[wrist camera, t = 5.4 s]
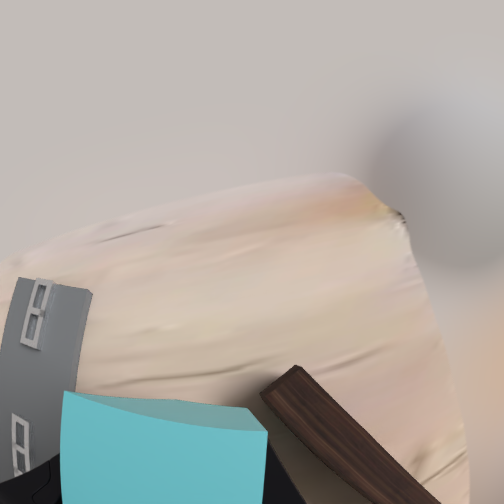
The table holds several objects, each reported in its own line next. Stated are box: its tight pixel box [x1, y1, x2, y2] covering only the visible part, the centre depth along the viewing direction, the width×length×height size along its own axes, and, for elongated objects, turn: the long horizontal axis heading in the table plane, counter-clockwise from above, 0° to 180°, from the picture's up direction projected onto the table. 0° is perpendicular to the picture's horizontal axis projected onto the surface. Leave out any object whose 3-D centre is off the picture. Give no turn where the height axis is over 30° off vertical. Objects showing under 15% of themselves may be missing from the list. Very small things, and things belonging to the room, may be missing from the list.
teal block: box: [60, 391, 268, 504], centre depth 8 cm, size 4×4×11 cm
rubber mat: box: [0, 277, 93, 483], centre depth 15 cm, size 24×10×1 cm, turn 177°
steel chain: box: [12, 278, 57, 477], centre depth 14 cm, size 23×2×1 cm, turn 177°
